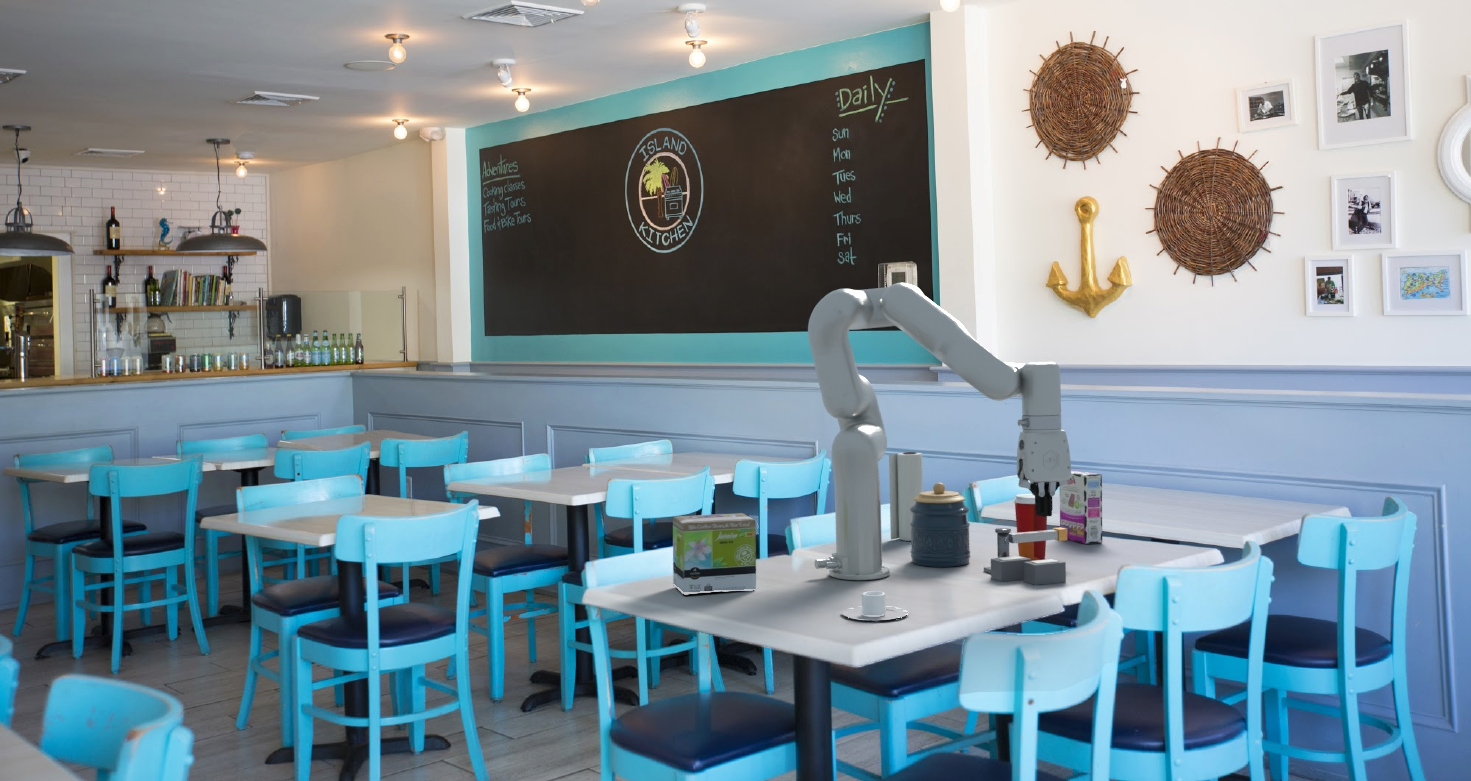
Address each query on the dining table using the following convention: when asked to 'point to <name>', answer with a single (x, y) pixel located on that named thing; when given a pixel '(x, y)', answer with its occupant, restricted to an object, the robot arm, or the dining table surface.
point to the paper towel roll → (904, 491)
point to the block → (1008, 568)
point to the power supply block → (1045, 571)
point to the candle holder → (874, 603)
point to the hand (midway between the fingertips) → (1044, 515)
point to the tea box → (714, 552)
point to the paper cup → (1029, 526)
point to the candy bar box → (1082, 507)
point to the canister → (939, 529)
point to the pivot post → (1001, 544)
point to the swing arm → (1039, 535)
